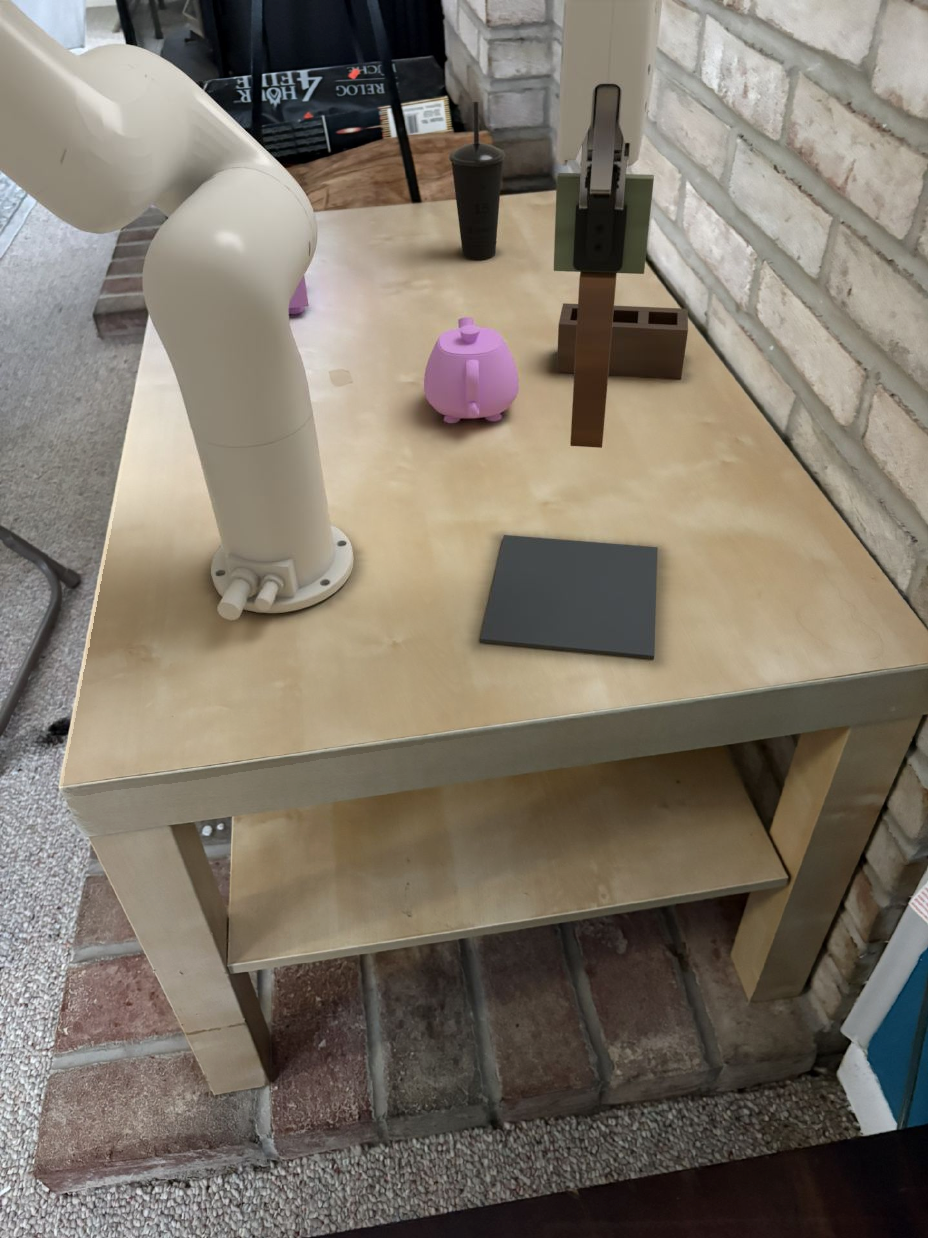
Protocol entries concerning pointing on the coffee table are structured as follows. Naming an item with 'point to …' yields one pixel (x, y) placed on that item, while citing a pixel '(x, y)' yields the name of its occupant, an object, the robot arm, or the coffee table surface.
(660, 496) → the coffee table surface
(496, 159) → the drinking cup
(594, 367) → the spatula
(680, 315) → the rack
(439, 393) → the teapot
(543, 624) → the mat
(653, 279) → the coffee table surface
